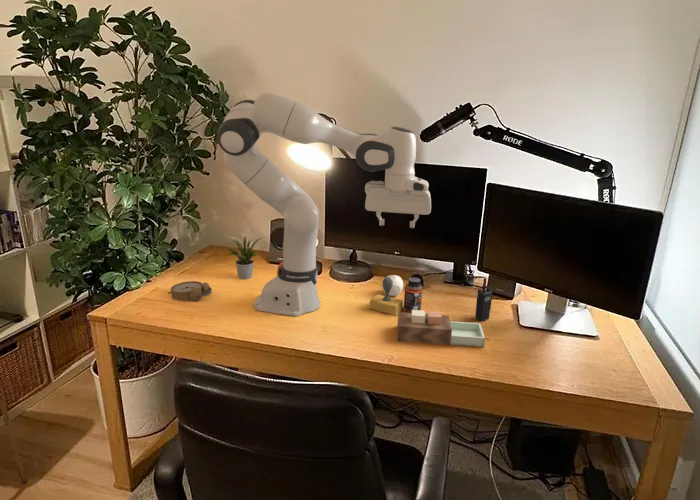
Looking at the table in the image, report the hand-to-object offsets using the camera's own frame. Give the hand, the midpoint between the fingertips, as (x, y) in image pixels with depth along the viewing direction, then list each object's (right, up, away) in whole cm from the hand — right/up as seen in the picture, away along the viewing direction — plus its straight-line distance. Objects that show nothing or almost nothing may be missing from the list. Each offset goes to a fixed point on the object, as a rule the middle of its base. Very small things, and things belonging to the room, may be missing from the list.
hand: (396, 226), depth 167 cm
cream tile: (+7, -29, 0) cm, 30 cm away
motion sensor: (+1, -24, +31) cm, 39 cm away
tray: (+21, -35, 0) cm, 41 cm away
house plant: (-55, -18, +44) cm, 73 cm away
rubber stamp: (-2, -28, +19) cm, 34 cm away
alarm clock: (-71, -24, +25) cm, 79 cm away
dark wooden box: (+8, -34, +1) cm, 35 cm away
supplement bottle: (+7, -28, +19) cm, 35 cm away
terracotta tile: (+12, -29, -1) cm, 32 cm away
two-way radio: (+30, -31, +15) cm, 45 cm away
